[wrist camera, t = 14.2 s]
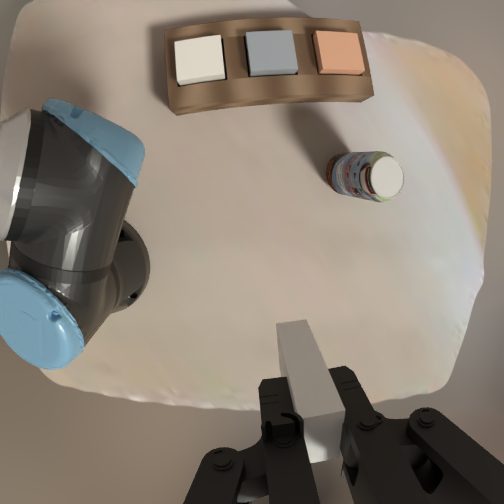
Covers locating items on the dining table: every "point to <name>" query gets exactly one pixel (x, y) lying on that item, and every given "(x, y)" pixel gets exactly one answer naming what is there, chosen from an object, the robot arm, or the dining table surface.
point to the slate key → (271, 53)
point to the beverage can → (366, 175)
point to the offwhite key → (199, 60)
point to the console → (267, 87)
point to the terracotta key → (337, 53)
